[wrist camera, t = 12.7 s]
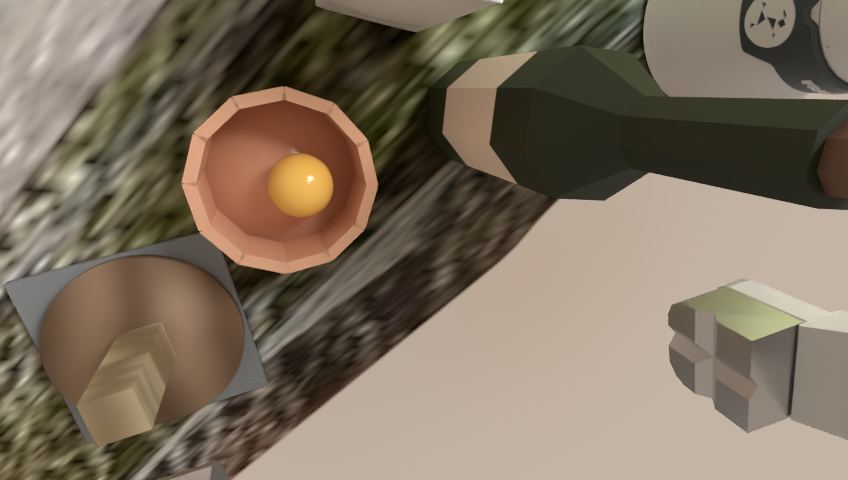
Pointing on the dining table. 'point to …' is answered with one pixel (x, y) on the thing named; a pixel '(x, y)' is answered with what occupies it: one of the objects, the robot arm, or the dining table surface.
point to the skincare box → (406, 11)
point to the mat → (196, 249)
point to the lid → (141, 343)
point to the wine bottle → (632, 130)
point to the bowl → (279, 180)
